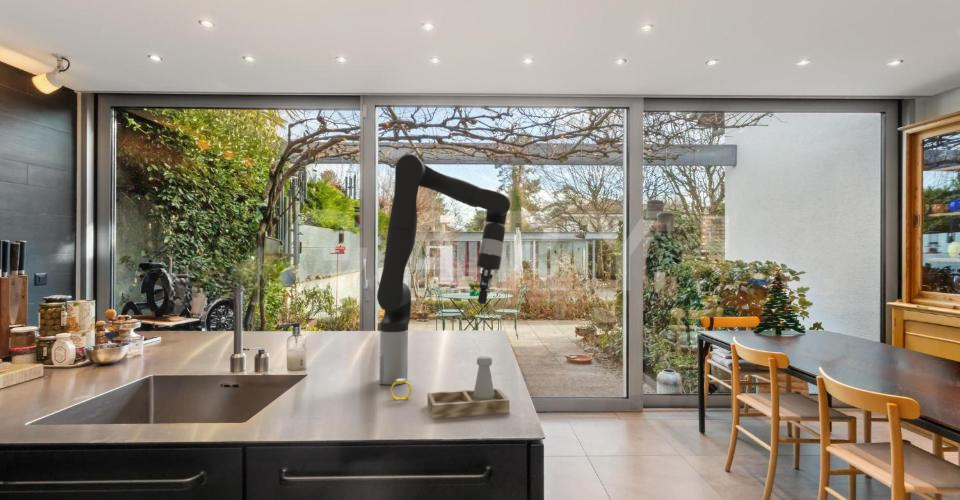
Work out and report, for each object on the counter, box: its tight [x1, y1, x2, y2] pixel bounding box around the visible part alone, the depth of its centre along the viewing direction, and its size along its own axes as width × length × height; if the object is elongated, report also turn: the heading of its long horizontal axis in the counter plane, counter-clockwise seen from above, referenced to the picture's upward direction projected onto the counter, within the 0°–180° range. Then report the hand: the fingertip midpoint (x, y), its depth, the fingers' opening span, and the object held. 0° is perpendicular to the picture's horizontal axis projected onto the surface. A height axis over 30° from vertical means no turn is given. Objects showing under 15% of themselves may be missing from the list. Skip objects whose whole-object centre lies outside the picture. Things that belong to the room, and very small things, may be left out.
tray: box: [426, 387, 510, 419], centre depth 131 cm, size 21×11×4 cm, turn 104°
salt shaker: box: [473, 355, 495, 401], centre depth 133 cm, size 6×6×13 cm
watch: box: [390, 378, 412, 401], centre depth 138 cm, size 6×3×6 cm, turn 97°
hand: (481, 303), depth 152 cm, fingers open, 8 cm apart
